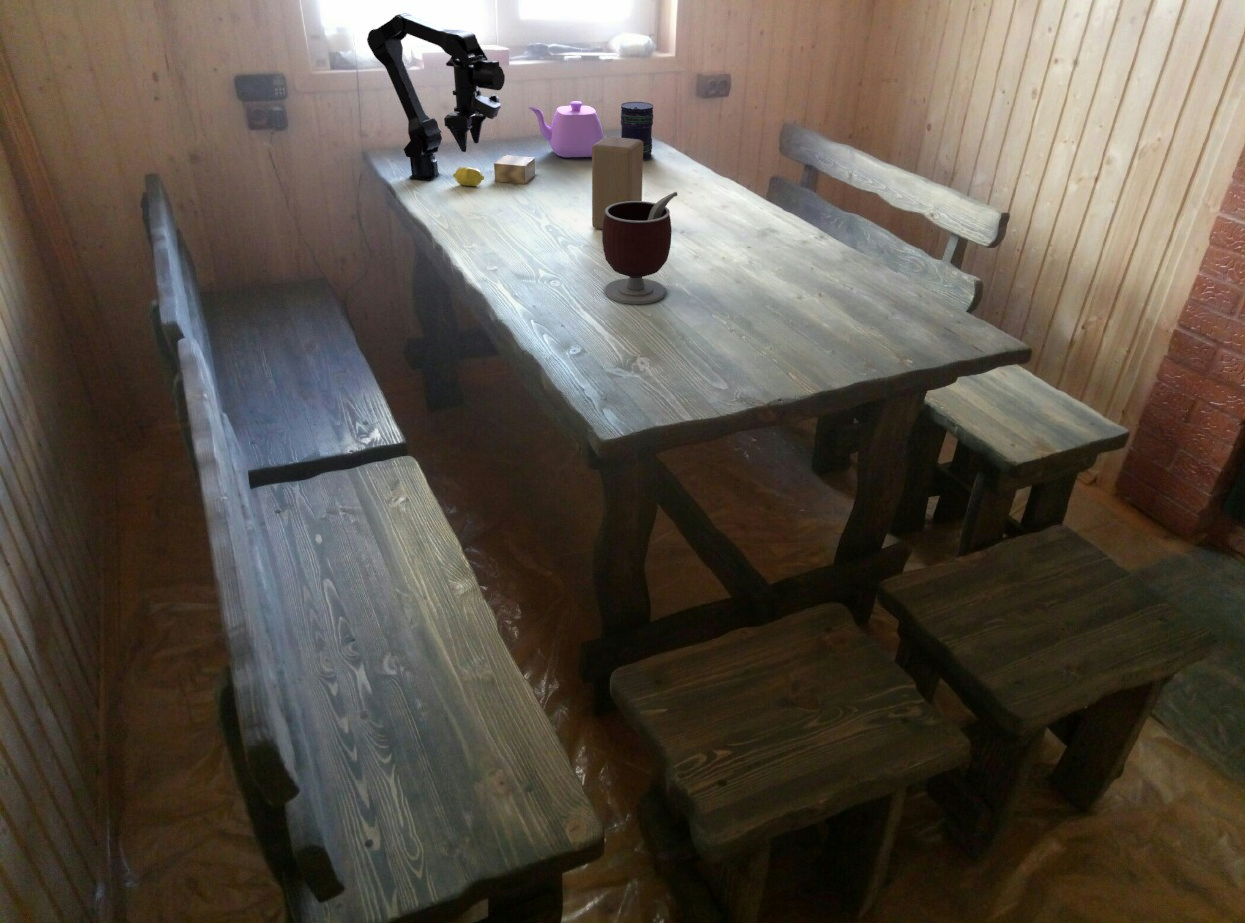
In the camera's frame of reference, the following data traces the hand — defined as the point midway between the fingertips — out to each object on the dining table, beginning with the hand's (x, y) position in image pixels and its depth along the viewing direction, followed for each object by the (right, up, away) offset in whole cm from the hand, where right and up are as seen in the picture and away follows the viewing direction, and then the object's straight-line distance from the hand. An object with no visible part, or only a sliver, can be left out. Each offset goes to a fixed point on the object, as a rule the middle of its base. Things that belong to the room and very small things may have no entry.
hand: (470, 147), depth 237 cm
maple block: (+11, -5, +12) cm, 17 cm away
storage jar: (+45, +9, +33) cm, 57 cm away
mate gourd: (+45, -50, -54) cm, 86 cm away
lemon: (-1, -9, +5) cm, 10 cm away
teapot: (+26, +10, +35) cm, 45 cm away
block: (+40, -27, -20) cm, 52 cm away
